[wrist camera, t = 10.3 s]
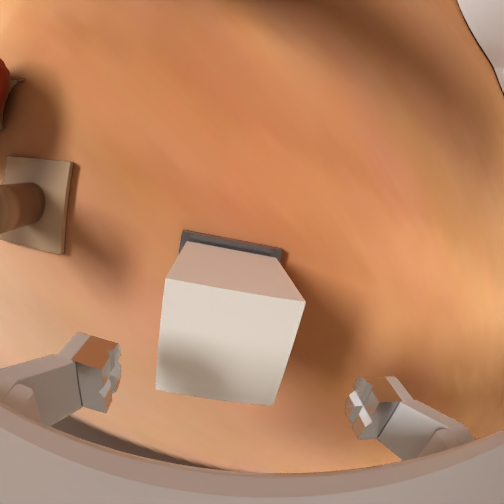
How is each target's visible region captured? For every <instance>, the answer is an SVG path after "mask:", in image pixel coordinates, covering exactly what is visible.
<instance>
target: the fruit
mask: <svg viewBox="0 0 504 504" xmlns="http://www.w3.org/2000/svg"><path fill="white" fill-rule="evenodd" d="M22 80H24V79H18V80H12V79H11V77H10V72H9V70H8V69H7V68H6V66H5V64H4V62H3V61H2V60H1V59H0V130H2V129H3V128H5V127H4V125H3V110H4V105H5V102H6V99H7V97H8V95H9V93H10V91H11V90H12V88H13V87H14V86H15V85H16V83H17V82H19V81H22Z"/></svg>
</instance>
